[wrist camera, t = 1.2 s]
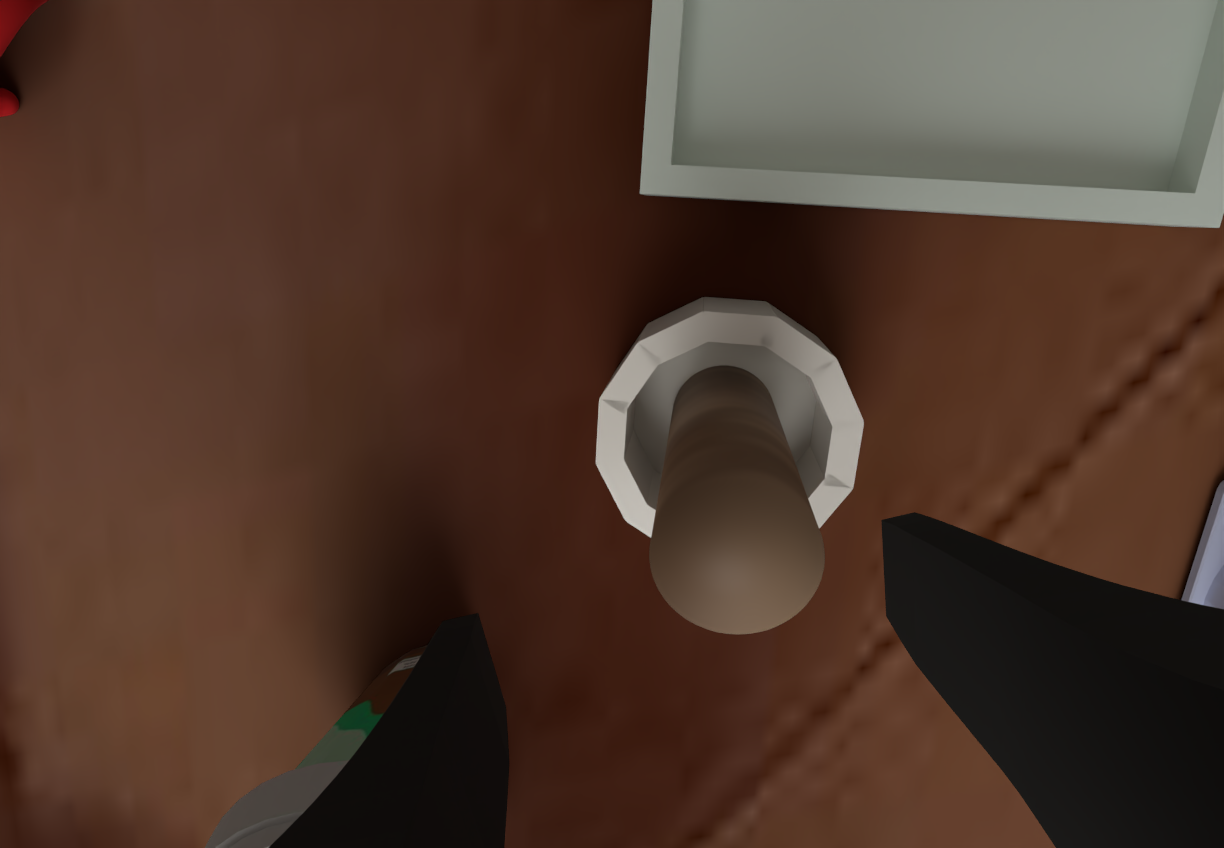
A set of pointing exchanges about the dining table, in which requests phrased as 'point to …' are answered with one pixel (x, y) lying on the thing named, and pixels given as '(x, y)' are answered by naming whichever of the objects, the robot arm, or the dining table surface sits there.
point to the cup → (739, 337)
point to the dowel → (732, 510)
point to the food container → (310, 768)
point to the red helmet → (3, 9)
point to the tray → (942, 106)
